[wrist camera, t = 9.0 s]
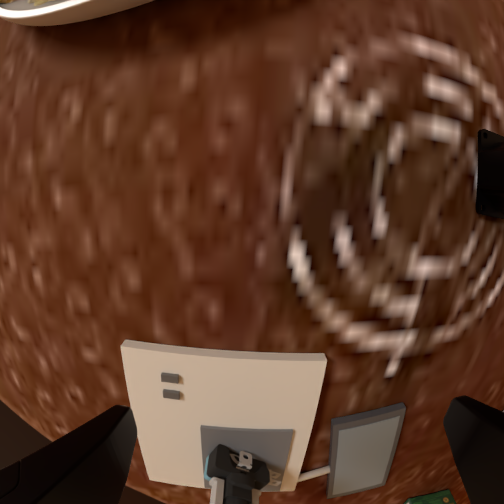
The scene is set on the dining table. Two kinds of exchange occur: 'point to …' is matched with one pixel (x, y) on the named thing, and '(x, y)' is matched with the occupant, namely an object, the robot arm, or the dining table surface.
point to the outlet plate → (221, 408)
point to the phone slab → (363, 449)
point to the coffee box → (433, 498)
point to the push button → (236, 476)
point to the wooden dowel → (313, 473)
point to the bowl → (61, 10)
